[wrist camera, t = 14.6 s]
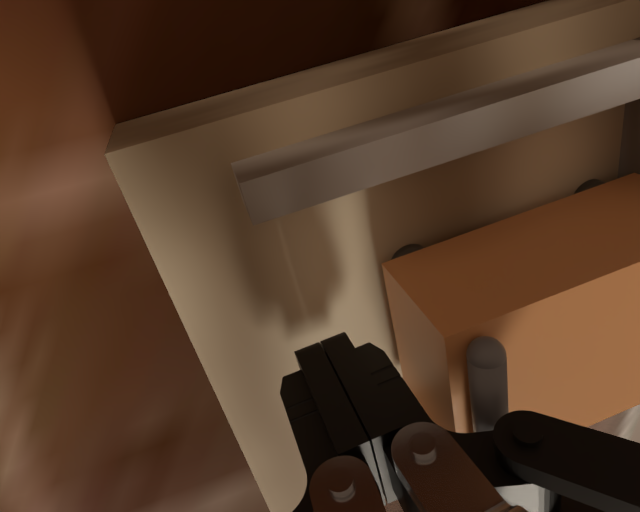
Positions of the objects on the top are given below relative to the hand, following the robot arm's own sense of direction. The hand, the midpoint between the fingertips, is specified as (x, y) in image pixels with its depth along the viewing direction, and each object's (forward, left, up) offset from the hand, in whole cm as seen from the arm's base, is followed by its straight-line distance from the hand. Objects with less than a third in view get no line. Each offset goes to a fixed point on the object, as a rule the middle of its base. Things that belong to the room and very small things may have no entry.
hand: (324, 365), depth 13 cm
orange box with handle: (+6, 0, -1) cm, 6 cm away
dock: (+4, 0, -4) cm, 6 cm away
